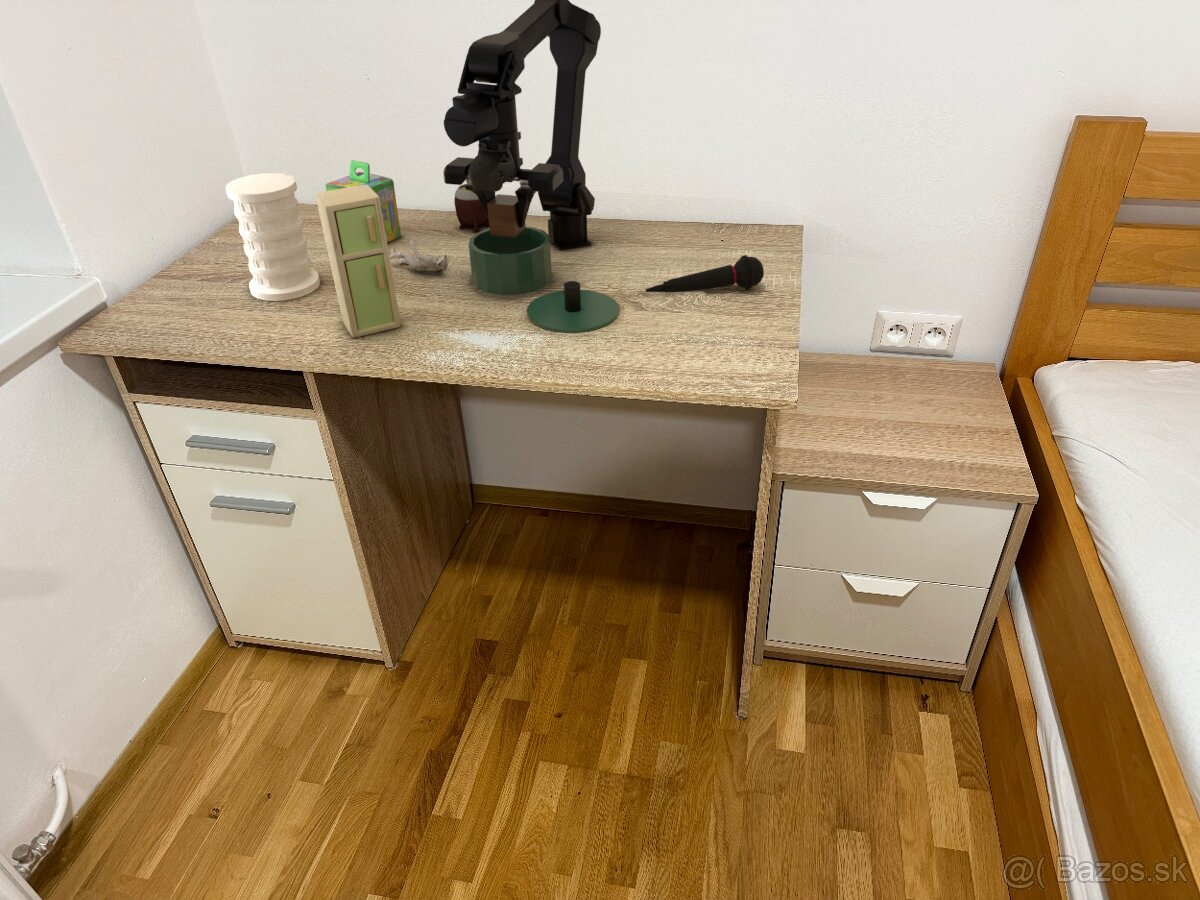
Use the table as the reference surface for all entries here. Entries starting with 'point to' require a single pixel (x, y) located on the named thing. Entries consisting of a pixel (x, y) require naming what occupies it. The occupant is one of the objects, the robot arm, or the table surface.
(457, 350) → the table surface
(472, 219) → the mate gourd
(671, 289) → the microphone
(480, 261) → the tin
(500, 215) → the block
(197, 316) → the table surface
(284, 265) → the decorative container
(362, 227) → the toy refrigerator
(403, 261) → the soldier figure
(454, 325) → the table surface
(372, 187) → the chalk box
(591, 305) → the lid
